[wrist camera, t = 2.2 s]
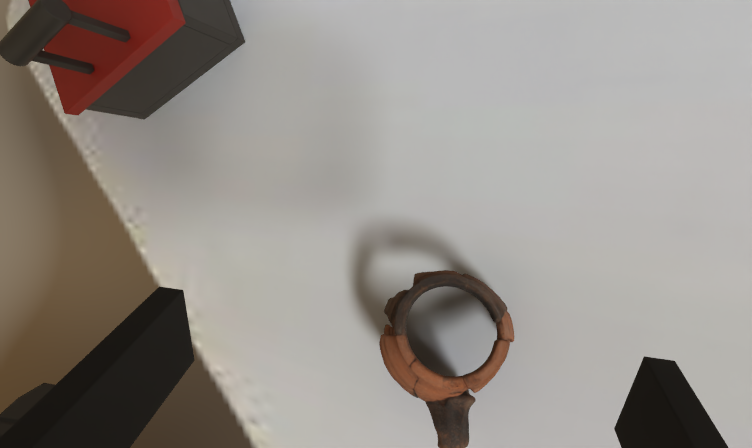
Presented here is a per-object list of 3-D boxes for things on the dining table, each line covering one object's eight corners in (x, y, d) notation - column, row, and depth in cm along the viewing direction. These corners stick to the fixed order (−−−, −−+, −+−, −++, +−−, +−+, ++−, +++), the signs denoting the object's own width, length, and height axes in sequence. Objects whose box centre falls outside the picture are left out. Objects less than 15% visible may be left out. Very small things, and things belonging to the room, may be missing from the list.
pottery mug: (371, 295, 38) (365, 275, 30) (483, 273, 38) (505, 248, 30) (401, 452, 34) (402, 477, 26) (524, 427, 34) (562, 445, 26)
